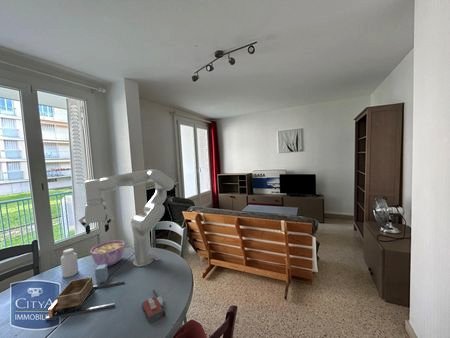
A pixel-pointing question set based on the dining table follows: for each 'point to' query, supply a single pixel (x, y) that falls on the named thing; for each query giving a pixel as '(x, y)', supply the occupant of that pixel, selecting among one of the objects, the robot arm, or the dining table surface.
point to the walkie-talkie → (153, 308)
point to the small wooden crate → (74, 294)
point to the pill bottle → (69, 263)
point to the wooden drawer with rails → (53, 310)
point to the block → (101, 273)
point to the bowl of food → (108, 252)
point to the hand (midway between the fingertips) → (97, 232)
